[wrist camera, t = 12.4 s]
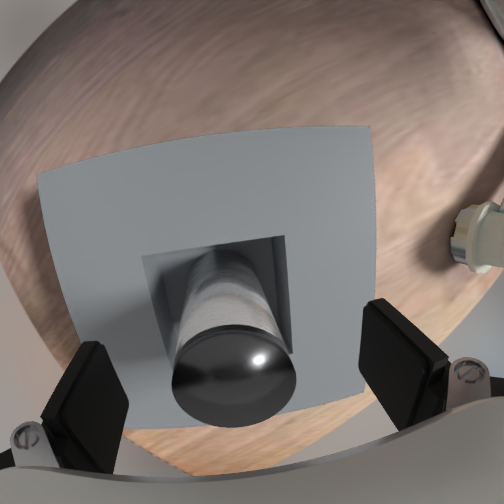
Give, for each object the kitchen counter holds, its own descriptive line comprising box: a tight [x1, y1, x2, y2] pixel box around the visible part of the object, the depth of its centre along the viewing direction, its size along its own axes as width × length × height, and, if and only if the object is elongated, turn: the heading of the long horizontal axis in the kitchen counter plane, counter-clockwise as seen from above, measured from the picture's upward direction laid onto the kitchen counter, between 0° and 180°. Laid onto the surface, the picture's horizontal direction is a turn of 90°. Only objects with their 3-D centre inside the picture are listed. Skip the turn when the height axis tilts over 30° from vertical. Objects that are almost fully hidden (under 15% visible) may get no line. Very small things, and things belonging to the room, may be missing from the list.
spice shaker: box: [171, 249, 297, 428], centre depth 13 cm, size 4×4×9 cm
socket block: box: [36, 126, 376, 429], centre depth 16 cm, size 16×16×5 cm
